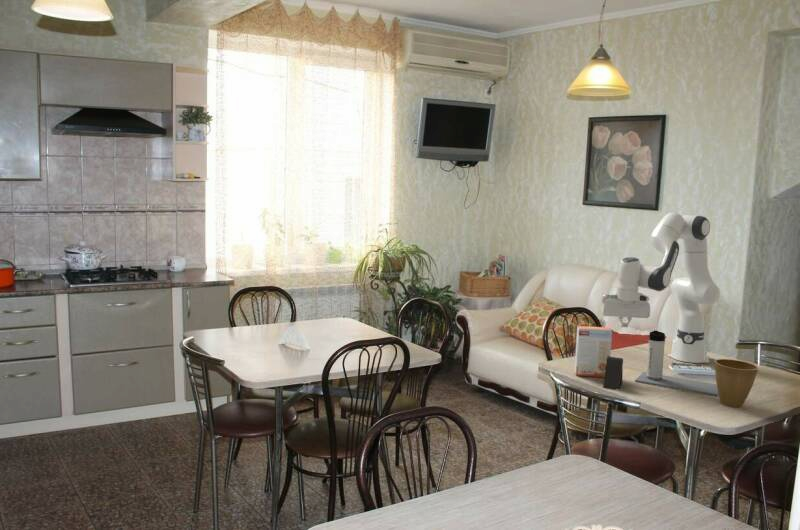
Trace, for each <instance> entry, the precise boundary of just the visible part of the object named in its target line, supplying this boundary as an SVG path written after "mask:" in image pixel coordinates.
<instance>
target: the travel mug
mask: <svg viewBox="0 0 800 530" xmlns="http://www.w3.org/2000/svg"><path fill="white" fill-rule="evenodd" d="M665 338H666V333H665V332H662V331H659V330H652V331H649V337H648V348H647V349H648V350H647V363H646V365H647V366H646V372H647V376H646V377H647V378H648V379H651V380H661V379H662V375H663V371H664V360H665V359H664V358H665V345H666V343H665V342H666V341H665V340H666V339H665Z"/></svg>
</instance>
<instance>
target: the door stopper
mask: <svg viewBox="0 0 800 530" xmlns="http://www.w3.org/2000/svg"><path fill="white" fill-rule="evenodd" d="M623 365H624V358H622V357H615V356H611V355H610V356H608V357H607V363H606V370H605V377H603V378H604V379H603V385H602V387H603V388H605V389H609V388H611V389H610V390H615V389H619V390H620V389H621V387H622V386H623V372H624V371H623V369H624V368H623V367H624V366H623ZM621 385H622V386H621Z"/></svg>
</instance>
